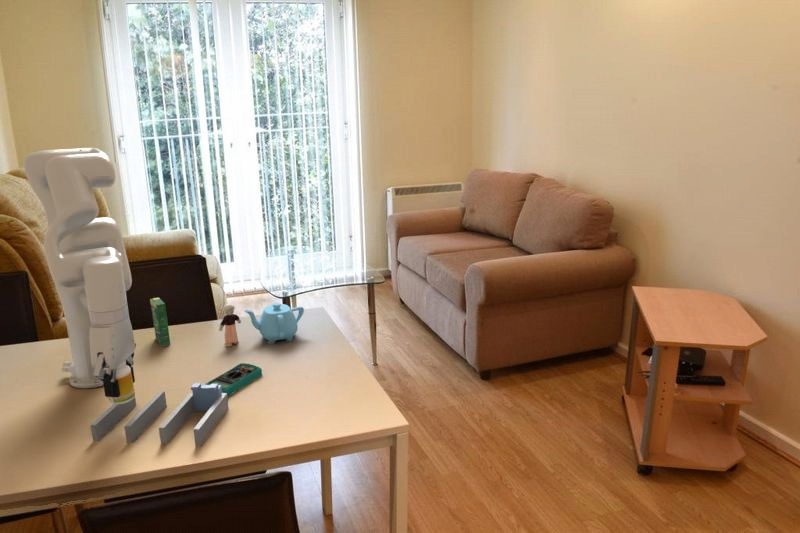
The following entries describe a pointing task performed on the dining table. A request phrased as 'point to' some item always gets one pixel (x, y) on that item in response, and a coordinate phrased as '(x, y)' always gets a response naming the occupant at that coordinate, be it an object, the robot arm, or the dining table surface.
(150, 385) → the dining table surface
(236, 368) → the digital multimeter
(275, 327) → the teapot
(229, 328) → the grandmother figurine
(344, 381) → the dining table surface
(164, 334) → the coffee box
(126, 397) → the supplement bottle
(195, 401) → the grey parallel walls
